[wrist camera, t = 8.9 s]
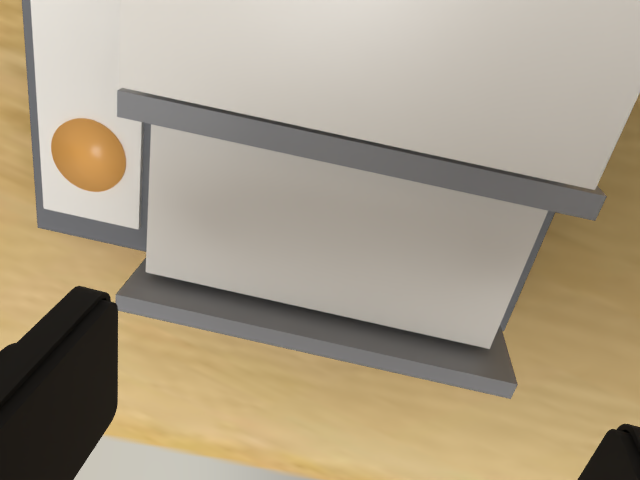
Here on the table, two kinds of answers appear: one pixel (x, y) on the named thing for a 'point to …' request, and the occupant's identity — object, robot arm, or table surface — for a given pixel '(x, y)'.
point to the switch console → (145, 109)
